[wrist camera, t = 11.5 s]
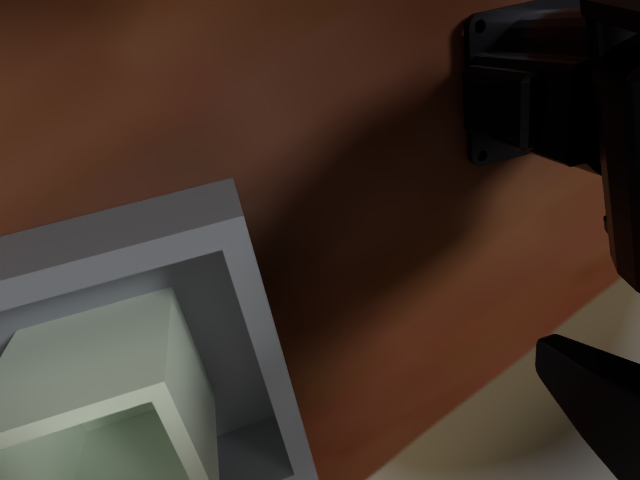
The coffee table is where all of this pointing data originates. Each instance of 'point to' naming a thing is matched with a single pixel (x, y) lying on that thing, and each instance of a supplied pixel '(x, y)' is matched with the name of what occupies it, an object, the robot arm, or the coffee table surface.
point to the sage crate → (108, 397)
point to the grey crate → (195, 302)
